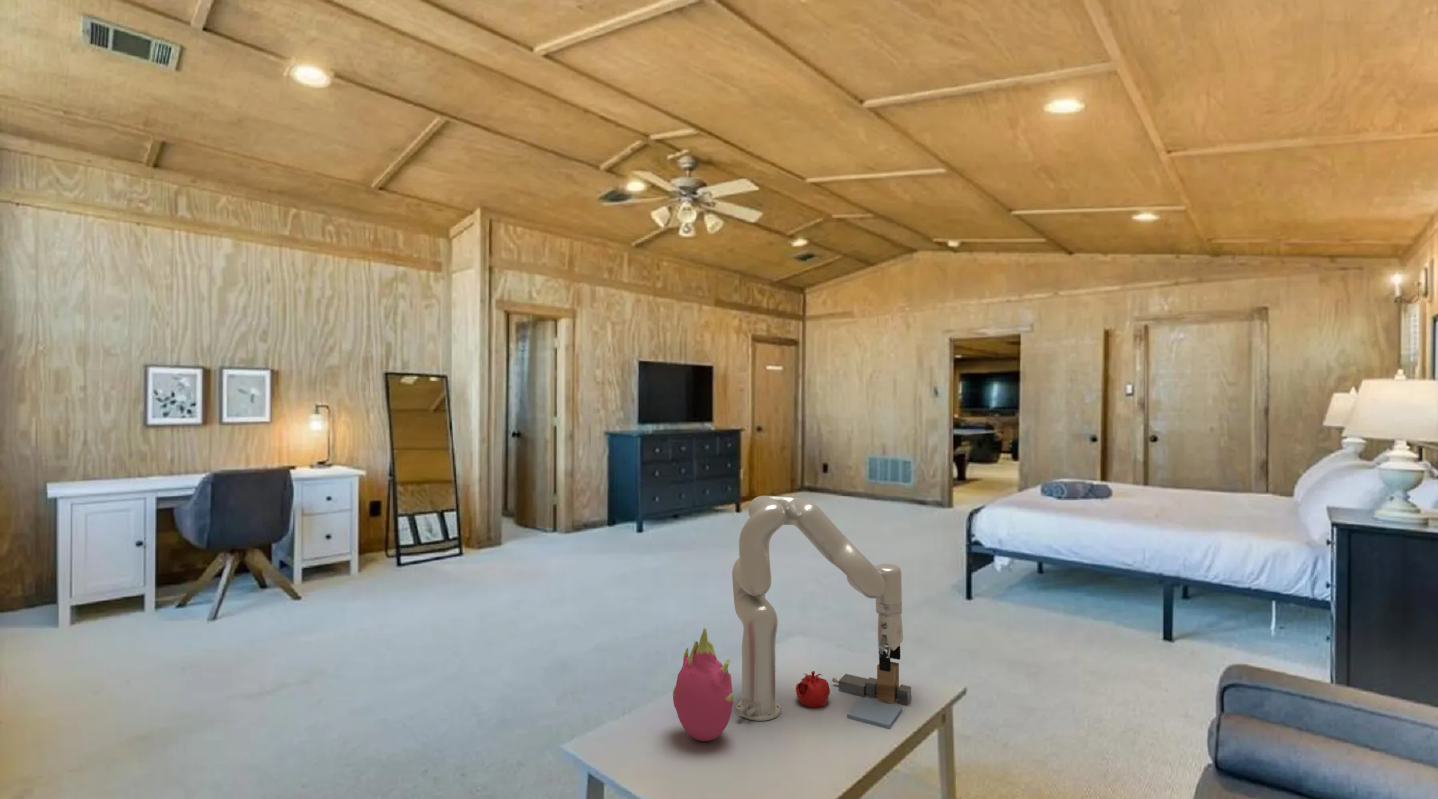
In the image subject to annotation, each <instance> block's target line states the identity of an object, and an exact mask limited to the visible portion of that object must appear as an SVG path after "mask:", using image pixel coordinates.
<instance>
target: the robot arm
mask: <svg viewBox="0 0 1438 799" xmlns="http://www.w3.org/2000/svg"><path fill="white" fill-rule="evenodd" d="M747 510H748V511H747V512H748V515H749V518H748V519H747V520H746V522H745V523H744V525H743V527H742V528H741V529H740V530H741V531H740V534H739V540H738V547H739V548H738V556H739V557H738V559H737V560H736V561H735V562H734V564H733V567H732V572H731V573H732V574H731V576H732V590H733V604H734V610H735V613H736V616H737V617H738V619H739V620H740V622H741V624H742V626H743V629H742V630H743V634H742V639H741V640H742V642H741V700H740V701H738V702H737V704H736V706H735V707H736V711H735V715H736V716H737V717H742V718H744V719H746V720H750V721H758V722H759V721H760V722H763V721H769V720H773V719H775V718H777V717H778V716H780V714H781V712H782V707H781V704H780V703H779V702H778V701H776V641H777V632H778V631H777V630H778V615H777V612H776V610H775V608H774V607H773V605H772V604H771V603H770V602H769V601H768V600H767V599H766V594H767V593H768V592H769V590H770V589H771V585H772V572H771V562H770V543H771V539H772V537H773V536H774V534H776V532H777V531H778V530H779V529H780V528H782V527H783V526H795V527H796V528H798V530H799V532H801V534H802V535H804V536H805V538H807V539H808V541H809V542H810V543H811V544H812V545H813V546H814V548H816V550H818V552H819V553H820V554H821V555H822V556H823V557H824V558H825V559H826V560H827V561H828V562H829V563H831V564H832V565H834V566H835V567H836V568H837V569H839V570H840V571H842V573H843V574H845V576H846V580H847V582H848V584H849V585H850V587H852V588H853V589H854V590H856V591H857V592H859V593H860V594H862V595H863V596H864V597H866V598H868V599H874V600H875V612H876V614H878V617H877V645H878V664H879V669H880V670H882V671H887V672H890V671H891V662H892V661H891V659H892V660H897V661H898V660H901V643H902V642H903V640H904V634H903V633H904V631H903V629H904V628H903V619H902V614H903V600H902V599H903V594H902V591H903V590H902V587H903V586H902V570H901V567H899V566H898V565H896V564H894V563H880V564H878V565H877V564H872V563H871V561H870V560H869V559H868V558H867V557H866V556H865V555H864V554H863V553H862V552H861V551H860V550H859V548H857V546H855V545H854V544H853V543H852V542H851V541H850V540H849V538H848V537H846V536H845V535H844V534H843V533H842V531H841V530H840V529H839V528H838V527H837V525H835V524H834V522H833V521H832V520H831V519H830V518H829V516H827V514H826V513H825V512H824V511H823V510H822V509H821V508H820V507H819V506H818V505H817V504H816V503H814V502H812V501H811V500H808V499H806V498H803V497H790V496H778V495H777V496H776V495H775V496H774V495H759V496H757V497H755V498H753V499H752V500H751V501H750V503H749V505H748V509H747Z"/></svg>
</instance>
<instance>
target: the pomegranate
mask: <svg viewBox="0 0 1438 799" xmlns="http://www.w3.org/2000/svg"><path fill="white" fill-rule="evenodd" d="M815 674H816V671H815V670H813V671H811V674H807V673H804V677H803V678H801V680H800V682H799V683H796V686H795V692H796V697H797V699H798V700H799V702H800V703H801V704H802V705H803V706H807V707H809V708H816V707H817V708H820V707H823V706H825V705H826V704H827V702H828V700H829V696H830V694H831V689H830V685H829V684H830V683H829V682H828V681H827V679H825V678H821V677H819V676H822V674H821V673H818V674H816V675H815Z"/></svg>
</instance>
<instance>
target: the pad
mask: <svg viewBox="0 0 1438 799" xmlns="http://www.w3.org/2000/svg"><path fill="white" fill-rule="evenodd" d="M902 712H903V707H902V706H898V705H893V704H891V703H887V702H880V701H876V700H874V699H869V698H865V697H861V698H860V699H859V700H858V701H857V702H856V703H855V705H853V707H852V708H851V709H850V710H849V711H848V713H847V714H846V718H847V719H849V720H854V721H857V722H861V723H865V724H869V725H872V726H875V727H880V728H884V729H886V730H887V729H888V730H891V728H892V726H893V725H894V724H895V722H896V721H897V719H898V718H899V717H900V715H901V714H902Z"/></svg>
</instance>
